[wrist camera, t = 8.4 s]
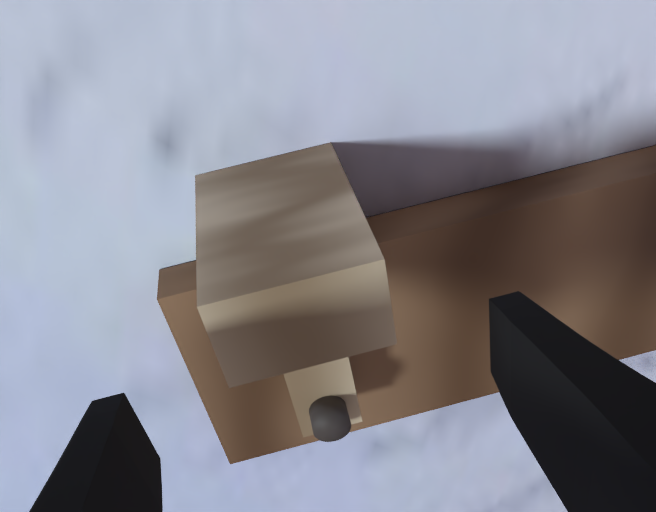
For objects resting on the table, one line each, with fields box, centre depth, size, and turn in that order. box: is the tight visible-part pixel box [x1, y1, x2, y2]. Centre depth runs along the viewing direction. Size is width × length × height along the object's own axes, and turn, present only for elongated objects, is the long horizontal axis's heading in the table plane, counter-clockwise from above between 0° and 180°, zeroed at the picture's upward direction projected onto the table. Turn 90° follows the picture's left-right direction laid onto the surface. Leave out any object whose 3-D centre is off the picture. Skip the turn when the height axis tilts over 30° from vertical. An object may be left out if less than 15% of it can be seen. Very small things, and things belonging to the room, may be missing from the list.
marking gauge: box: [195, 143, 397, 442], centre depth 17 cm, size 4×8×6 cm, turn 10°
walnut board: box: [157, 145, 656, 464], centre depth 21 cm, size 20×8×2 cm, turn 99°
